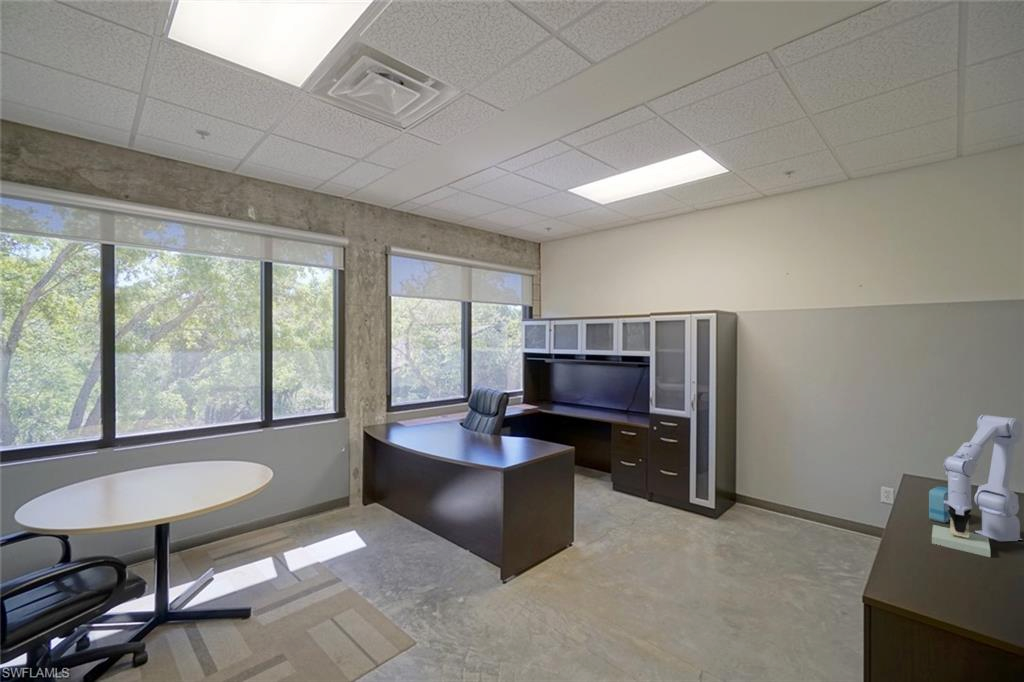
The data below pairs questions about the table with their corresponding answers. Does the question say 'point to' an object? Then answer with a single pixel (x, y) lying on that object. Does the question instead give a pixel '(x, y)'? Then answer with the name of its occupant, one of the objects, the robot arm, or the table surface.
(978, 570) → the table surface
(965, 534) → the maple block
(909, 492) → the table surface
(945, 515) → the data package
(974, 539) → the base board
